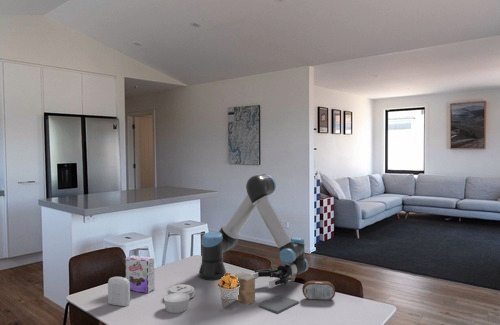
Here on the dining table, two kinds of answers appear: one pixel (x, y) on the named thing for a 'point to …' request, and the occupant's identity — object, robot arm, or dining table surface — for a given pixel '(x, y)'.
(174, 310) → the ramekin
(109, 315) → the dining table surface
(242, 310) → the dining table surface
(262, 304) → the charcoal mat
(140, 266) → the candy box
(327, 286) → the tin
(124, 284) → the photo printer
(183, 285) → the lid
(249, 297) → the oak block
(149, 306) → the dining table surface
